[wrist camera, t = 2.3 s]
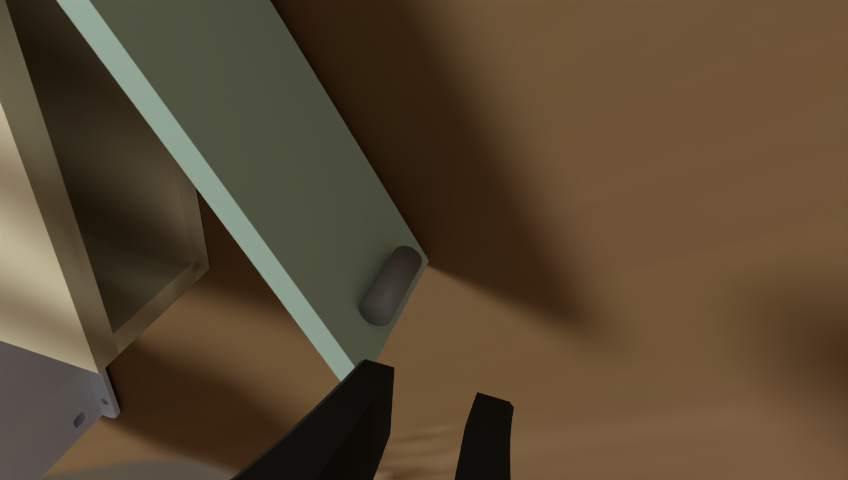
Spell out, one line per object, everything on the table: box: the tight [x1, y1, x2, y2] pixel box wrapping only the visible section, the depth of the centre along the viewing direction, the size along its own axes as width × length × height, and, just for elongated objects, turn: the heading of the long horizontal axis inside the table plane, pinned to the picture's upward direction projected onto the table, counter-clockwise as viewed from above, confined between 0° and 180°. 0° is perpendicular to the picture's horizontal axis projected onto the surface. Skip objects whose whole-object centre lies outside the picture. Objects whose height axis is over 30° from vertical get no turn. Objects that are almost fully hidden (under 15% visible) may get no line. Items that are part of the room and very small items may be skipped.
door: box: [57, 0, 429, 381], centre depth 16 cm, size 16×2×6 cm, turn 30°
